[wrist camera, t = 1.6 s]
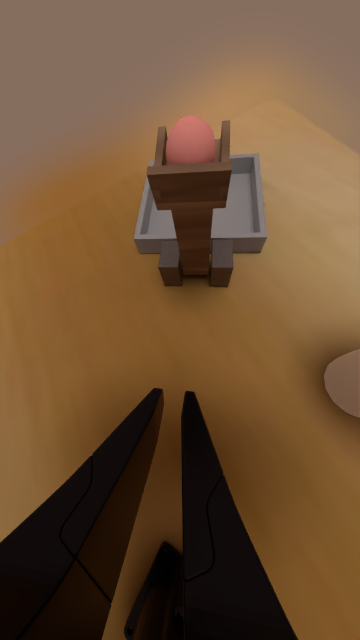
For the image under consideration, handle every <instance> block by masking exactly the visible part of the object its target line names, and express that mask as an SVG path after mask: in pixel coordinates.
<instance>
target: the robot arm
mask: <svg viewBox="0 0 360 640" xmlns="http://www.w3.org/2000/svg"><path fill="white" fill-rule="evenodd" d="M163 406H164V397H163V389H160V388H154V389H153V390H152V391H151V392H150V393H149V394H148V395H147V396H146V397H145V398H144V399H143V400H142V401H141V402H140V403H139V405H138V406H137V407H136V408H135V409H134V410H133V411H132V412H131V413H130V414H129V415H128V416H127V417H126V418H125V420H124V421H123V422H122V423H121V424H120V425H119V426H118V427H117V428H116V429H115V430H114V431H113V432H112V433H111V435H110V436H109V437H108V438H107V439H106V440H105V441H104V442H103V443H102V444H101V445H100V446H99V447H98V448H97V450H96V451H95V452H94V453H93V454H92V456H90V457H89V458H88V459H87V460H86V461H85V462H84V463H83V464H82V466H81V467H80V468H79V469H78V470H77V471H76V472H75V473H74V474H73V475H72V476H71V477H70V478H69V479H68V480H67V481H66V482H65V483H64V484H63V485H62V486H61V487H60V488H59V489H58V490H56V491H55V492H54V493H53V494H52V495H51V496H50V497H49V498H48V499H47V500H46V501H45V502H44V503H43V504H42V505H40V506H39V507H38V508H37V509H36V510H35V511H34V512H33V513H32V514H31V515H30V516H29V517H27V518H26V519H25V520H24V521H23V522H22V523H21V524H20V525H19V526H18V527H17V528H16V529H14V530H13V531H12V532H11V533H10V534H9V535H8V536H7V537H6V538H5V539H4V540H3V541H1V542H0V640H101V639H102V636H103V632H104V629H105V625H106V622H107V618H108V615H109V611H110V608H111V603H112V600H113V597H114V593H115V590H116V586H117V583H118V579H119V575H120V572H121V568H122V565H123V561H124V558H125V554H126V551H127V547H128V544H129V540H130V537H131V533H132V530H133V526H134V523H135V519H136V515H137V512H138V508H139V505H140V501H141V498H142V494H143V491H144V487H145V484H146V480H147V477H148V473H149V470H150V466H151V463H152V459H153V456H154V452H155V448H156V445H157V440H158V435H159V429H160V424H161V418H162V412H163ZM181 441H182V522H183V556H182V555H181V554H180V553H179V552H178V551H177V550H175V549H174V548H173V547H172V546H171V545H170V544H169V543H167V542H163V543H162V544H161V546H160V548H159V550H158V552H157V555H156V557H155V559H154V561H153V564H152V566H151V568H150V570H149V572H148V575H147V577H146V579H145V581H144V583H143V586H142V588H141V590H140V592H139V594H138V597H137V599H136V601H135V603H134V605H133V608H132V610H131V612H130V614H129V616H128V619H127V621H126V625H125V628H124V634H125V637H126V639H127V640H298V638H297V636H296V634H295V633H294V631H293V629H292V627H291V625H290V623H289V621H288V619H287V617H286V615H285V612H284V610H283V608H282V606H281V604H280V602H279V600H278V598H277V596H276V594H275V591H274V589H273V587H272V585H271V583H270V581H269V578H268V576H267V574H266V572H265V570H264V568H263V565H262V563H261V561H260V559H259V557H258V555H257V553H256V550H255V548H254V546H253V544H252V542H251V540H250V537H249V535H248V533H247V531H246V529H245V526H244V524H243V522H242V519H241V517H240V515H239V513H238V510H237V508H236V505H235V503H234V500H233V497H232V495H231V492H230V490H229V487H228V484H227V481H226V479H225V476H224V475H223V470H222V468H221V465H220V462H219V459H218V456H217V454H216V451H215V448H214V445H213V443H212V440H211V437H210V434H209V431H208V429H207V426H206V423H205V420H204V417H203V415H202V412H201V409H200V406H199V403H198V401H197V398H196V395H195V393H194V392H193V391H186V392H185V396H184V402H183V408H182V415H181ZM164 549H165V550H166V551H167V553H164V552H163V550H164ZM129 626H131V627H132V628H133V629H130V628H129Z"/></svg>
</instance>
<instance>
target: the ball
mask: <svg viewBox="0 0 360 640" xmlns="http://www.w3.org/2000/svg"><path fill="white" fill-rule="evenodd" d="M166 158H167V162H168V165H179V164H195V163H210V162H213V161H214V158H215V139H214V135H213V132H212V130H211V128H210V126H209V125H208V124H207V123H206V122H205V121H204V120H203V119H201V118H200V117H198V116H186V117H184V118H182V119H180V120H179V121H178V122H177V123H176V124H175V125H174V126H173V128H172V129H171V131H170V133H169V136H168V139H167V144H166Z"/></svg>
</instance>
